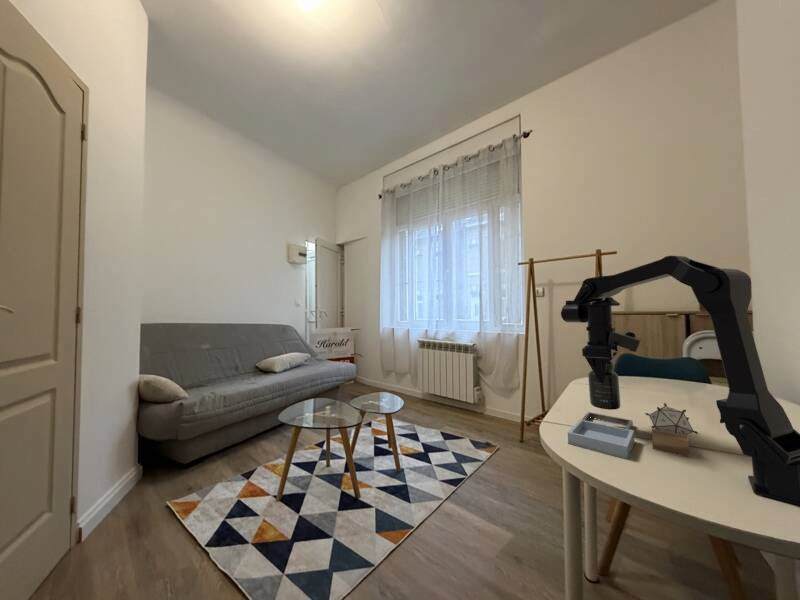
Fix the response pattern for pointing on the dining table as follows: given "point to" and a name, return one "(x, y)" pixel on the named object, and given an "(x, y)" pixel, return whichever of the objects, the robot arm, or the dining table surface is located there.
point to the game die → (671, 420)
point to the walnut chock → (670, 442)
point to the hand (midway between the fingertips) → (603, 380)
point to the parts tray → (602, 438)
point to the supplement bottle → (605, 390)
